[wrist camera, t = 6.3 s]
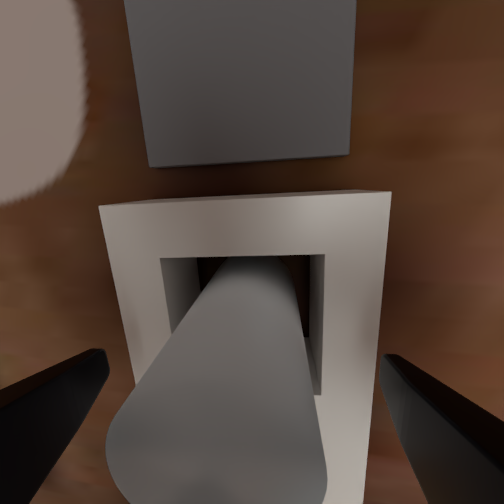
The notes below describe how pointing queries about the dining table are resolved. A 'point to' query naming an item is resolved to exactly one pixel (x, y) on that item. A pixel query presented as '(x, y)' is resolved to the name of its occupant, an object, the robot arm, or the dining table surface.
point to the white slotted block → (264, 244)
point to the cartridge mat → (243, 79)
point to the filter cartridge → (225, 401)
